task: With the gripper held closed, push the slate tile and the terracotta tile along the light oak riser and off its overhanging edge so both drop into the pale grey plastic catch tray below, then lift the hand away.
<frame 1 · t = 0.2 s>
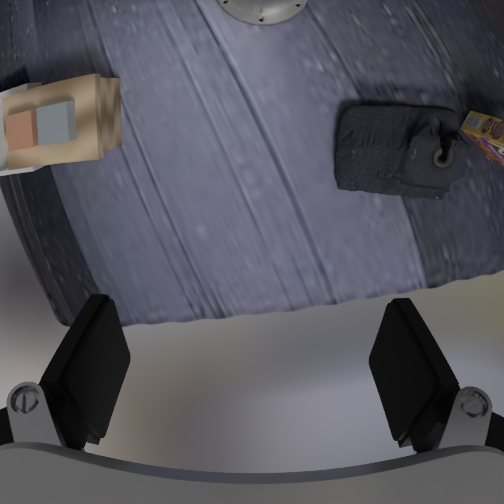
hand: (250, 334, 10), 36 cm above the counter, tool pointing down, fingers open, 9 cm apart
candy box: (478, 135, 40), on the counter
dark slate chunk: (401, 148, 42), on the counter
catch tray: (22, 128, 39), on the counter
oak riser: (93, 114, 39), on the counter
terracotta tile: (27, 128, 32), point 8 cm above the counter, touching oak riser
slate tile: (60, 122, 32), point 8 cm above the counter, touching oak riser
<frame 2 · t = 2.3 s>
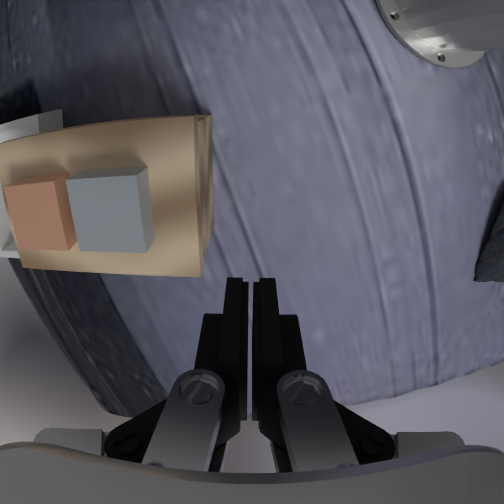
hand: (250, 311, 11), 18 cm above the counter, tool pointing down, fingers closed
catch tray: (33, 181, 27), on the counter
oak riser: (162, 172, 27), on the counter
terracotta tile: (48, 207, 20), point 8 cm above the counter, touching oak riser
slate tile: (116, 204, 20), point 8 cm above the counter, touching oak riser
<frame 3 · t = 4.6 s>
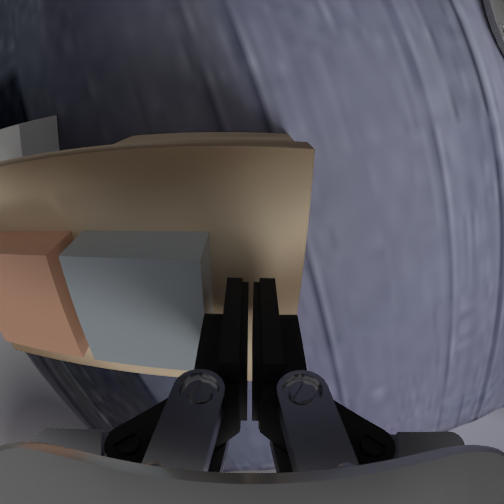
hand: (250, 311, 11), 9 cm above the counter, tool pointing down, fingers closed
catch tray: (20, 216, 19), on the counter
oak riser: (209, 213, 19), on the counter
terracotta tile: (41, 280, 12), point 8 cm above the counter, touching oak riser
slate tile: (150, 288, 12), point 8 cm above the counter, touching gripper, oak riser
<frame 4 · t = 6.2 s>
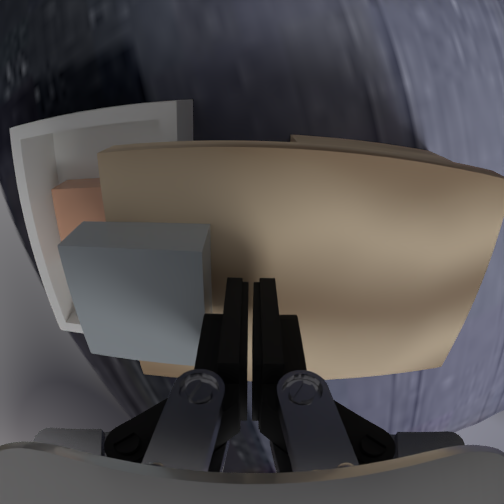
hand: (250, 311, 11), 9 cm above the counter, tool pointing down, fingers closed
catch tray: (121, 214, 19), on the counter
oak riser: (355, 218, 19), on the counter
terracotta tile: (90, 228, 17), point 3 cm above the counter, tilted 180°, touching catch tray
slate tile: (149, 280, 12), point 8 cm above the counter, touching gripper, oak riser
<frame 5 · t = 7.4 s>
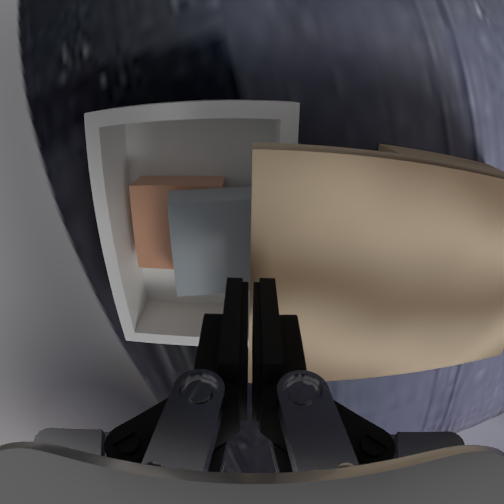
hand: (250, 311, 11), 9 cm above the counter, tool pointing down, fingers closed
catch tray: (201, 215, 19), on the counter
oak riser: (425, 223, 19), on the counter
terracotta tile: (176, 229, 17), point 3 cm above the counter, tilted 180°, touching catch tray, slate tile
slate tile: (224, 250, 15), point 5 cm above the counter, tilted 169°, touching catch tray, terracotta tile
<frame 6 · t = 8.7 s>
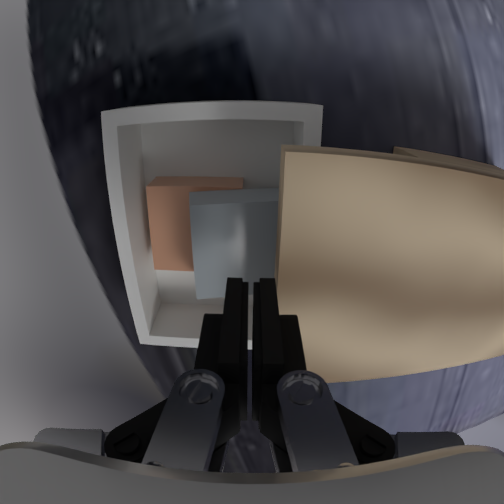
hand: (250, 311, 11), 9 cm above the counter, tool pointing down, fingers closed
catch tray: (217, 217, 19), on the counter
oak riser: (437, 224, 19), on the counter
terracotta tile: (194, 231, 17), point 3 cm above the counter, tilted 180°, touching catch tray, slate tile
slate tile: (245, 252, 15), point 5 cm above the counter, tilted 169°, touching catch tray, terracotta tile
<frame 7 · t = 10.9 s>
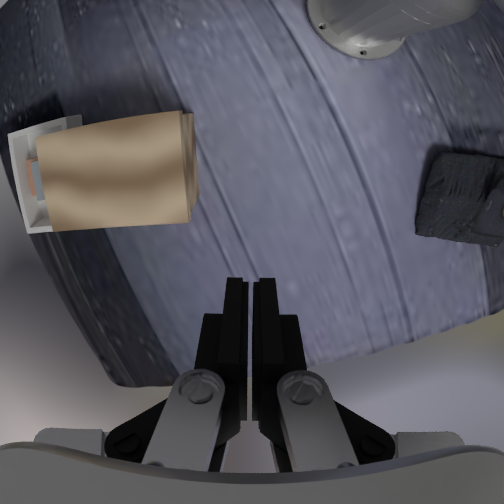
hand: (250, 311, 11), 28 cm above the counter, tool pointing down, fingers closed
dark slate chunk: (473, 196, 39), on the counter
catch tray: (57, 171, 35), on the counter
oak riser: (159, 157, 35), on the counter
terracotta tile: (41, 176, 33), point 3 cm above the counter, tilted 180°, touching catch tray, slate tile
slate tile: (50, 178, 31), point 5 cm above the counter, tilted 169°, touching catch tray, terracotta tile
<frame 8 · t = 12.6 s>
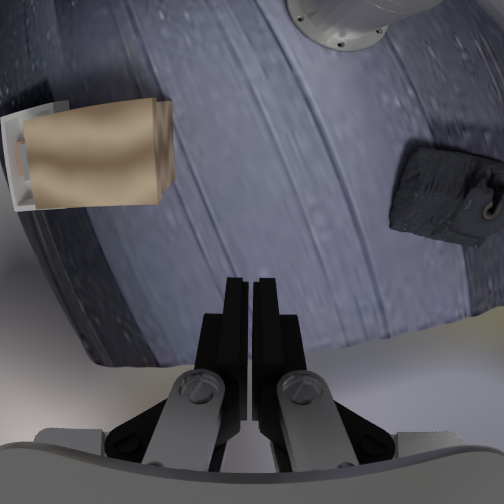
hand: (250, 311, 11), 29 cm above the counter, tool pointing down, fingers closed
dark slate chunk: (453, 194, 40), on the counter
catch tray: (45, 153, 36), on the counter
oak riser: (138, 142, 36), on the counter
terracotta tile: (30, 157, 33), point 3 cm above the counter, tilted 180°, touching catch tray, slate tile
slate tile: (36, 159, 32), point 5 cm above the counter, tilted 169°, touching catch tray, terracotta tile
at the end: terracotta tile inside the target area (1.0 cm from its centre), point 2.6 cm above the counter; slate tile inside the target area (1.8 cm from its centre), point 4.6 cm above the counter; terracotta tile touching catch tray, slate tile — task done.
